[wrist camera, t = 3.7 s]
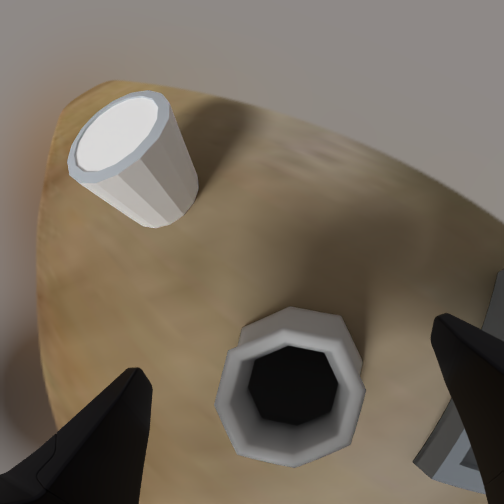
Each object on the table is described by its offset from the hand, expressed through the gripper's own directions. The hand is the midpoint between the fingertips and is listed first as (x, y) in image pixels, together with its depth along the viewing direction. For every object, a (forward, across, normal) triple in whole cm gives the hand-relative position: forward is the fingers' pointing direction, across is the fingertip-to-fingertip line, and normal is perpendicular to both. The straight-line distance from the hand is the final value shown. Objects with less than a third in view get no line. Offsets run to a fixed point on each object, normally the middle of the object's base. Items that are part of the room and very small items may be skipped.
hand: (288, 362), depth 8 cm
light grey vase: (+5, 0, +6) cm, 8 cm away
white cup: (+14, +7, -3) cm, 16 cm away
